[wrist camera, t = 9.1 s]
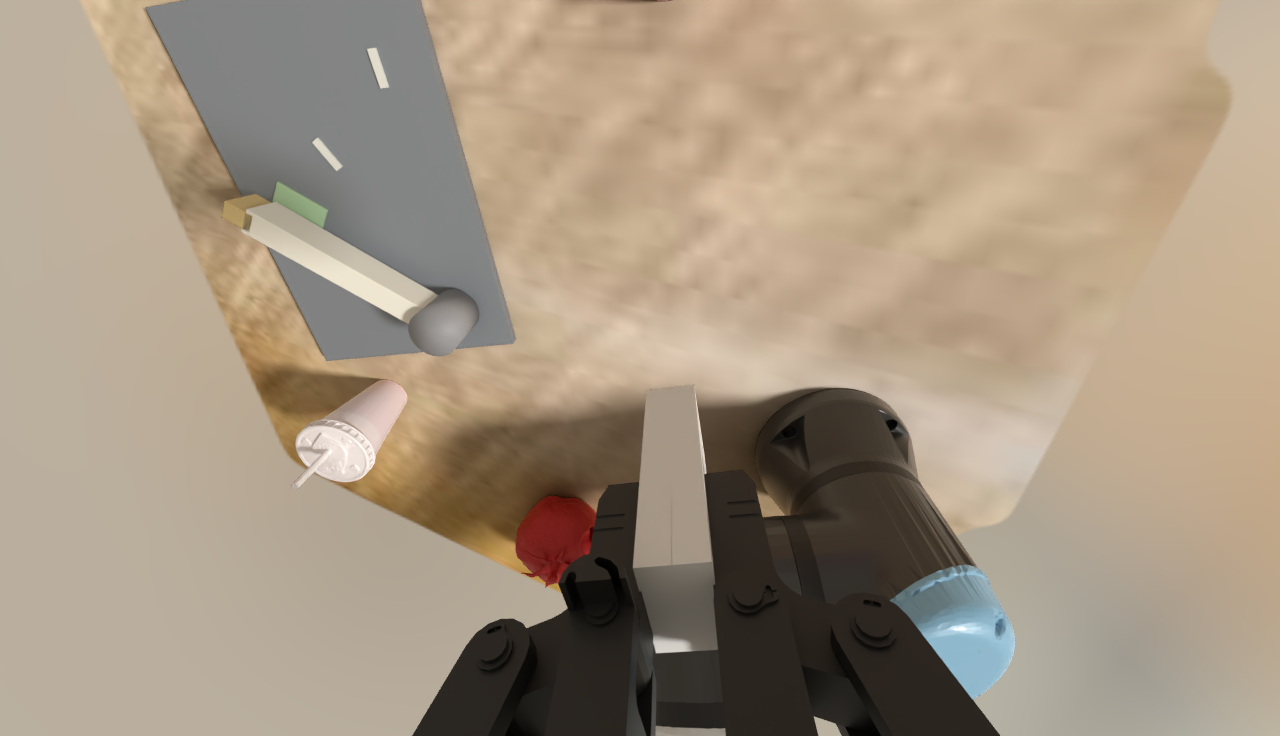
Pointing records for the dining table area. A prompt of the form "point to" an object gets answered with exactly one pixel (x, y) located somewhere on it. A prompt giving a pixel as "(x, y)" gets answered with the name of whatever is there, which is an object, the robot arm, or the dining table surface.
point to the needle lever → (358, 273)
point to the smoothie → (350, 434)
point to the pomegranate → (554, 536)
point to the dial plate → (343, 149)
